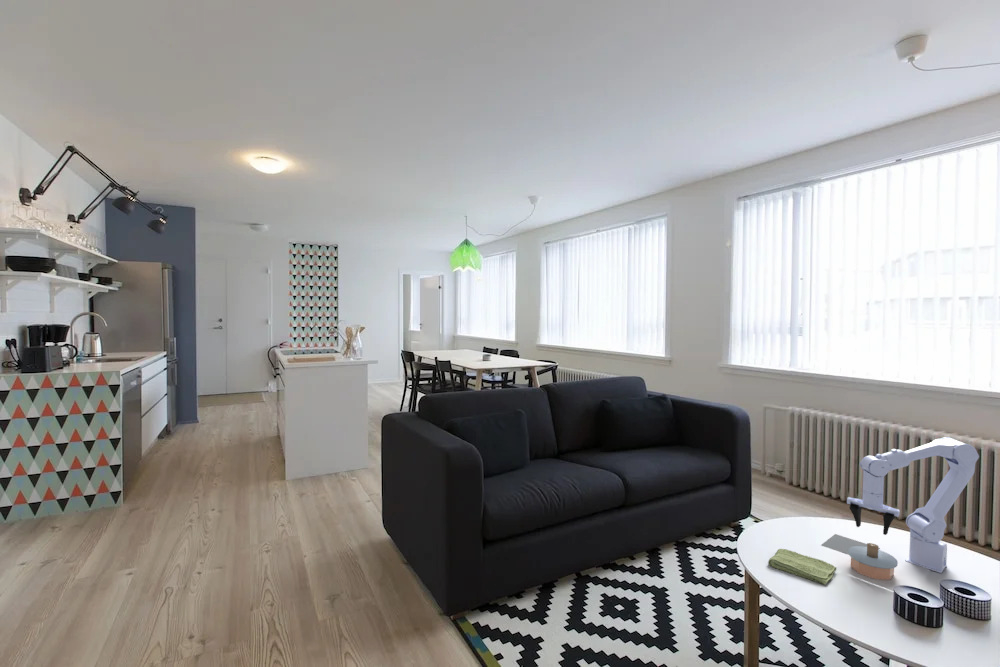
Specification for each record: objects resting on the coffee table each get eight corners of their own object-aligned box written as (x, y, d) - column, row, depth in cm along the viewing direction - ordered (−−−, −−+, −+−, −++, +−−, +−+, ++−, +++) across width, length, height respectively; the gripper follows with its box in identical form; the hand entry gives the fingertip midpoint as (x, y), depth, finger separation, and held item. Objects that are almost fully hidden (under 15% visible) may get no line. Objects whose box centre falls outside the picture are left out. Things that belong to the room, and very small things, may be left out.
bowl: (896, 572, 161) (897, 559, 161) (886, 584, 155) (887, 570, 154) (858, 559, 170) (858, 547, 169) (847, 569, 163) (847, 556, 163)
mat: (879, 549, 177) (879, 548, 177) (866, 561, 168) (866, 560, 168) (835, 534, 188) (835, 533, 188) (820, 546, 179) (821, 545, 179)
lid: (901, 559, 161) (902, 546, 161) (891, 573, 153) (892, 559, 153) (854, 544, 171) (855, 532, 171) (842, 557, 163) (843, 544, 163)
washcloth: (827, 588, 153) (828, 578, 153) (766, 567, 166) (766, 558, 166) (837, 572, 163) (837, 562, 162) (778, 553, 175) (778, 544, 175)
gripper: (844, 488, 172) (843, 526, 173) (896, 500, 161) (894, 541, 161) (850, 483, 176) (849, 520, 177) (901, 495, 165) (900, 534, 166)
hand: (871, 529), depth 170 cm, fingers open, 7 cm apart
